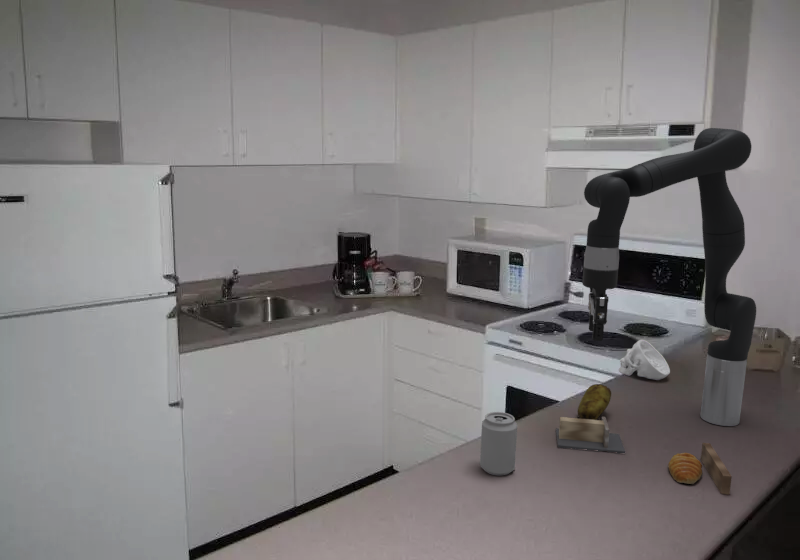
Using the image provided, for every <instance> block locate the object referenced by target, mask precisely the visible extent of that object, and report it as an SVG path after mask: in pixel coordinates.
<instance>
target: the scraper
mask: <svg viewBox="0 0 800 560" xmlns="http://www.w3.org/2000/svg"><path fill="white" fill-rule="evenodd" d="M558 428H559V439H569V440H580V441H591V442H602V443H603V445H604V448H608V441H609V433H610V428H609V424H608V421H607V418H606V416H601V420H600V419H599V420H598V419H597V420H590V419H580V418H579V417H578V418H576V417H566V416H560V417H559V426H558Z"/></svg>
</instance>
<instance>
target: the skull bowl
mask: <svg viewBox="0 0 800 560" xmlns="http://www.w3.org/2000/svg"><path fill="white" fill-rule="evenodd" d="M619 363H620V367H619V368H618V373H620V374H622V375H626V376H632V375H633V373H634V372H635V373H637V377H643V378H646V379H649V380H656V381H660V380H662V379H665V378H666V377H667V376H668V375H670V373H671V369H670V366H669V364H668V362H667V361H666V359H665V357H664V356H663V355H662V353H660V352H659V351H658V350H657V349H656V348H655V347H654V346H653V345H652V344H651V343H650V342H649V341H647V340H645V339H639V340H637V341H636V342H635V343H634V344H633V345H632V348H628V349H626V354H625V355H624V357H622V358H620V360H619Z"/></svg>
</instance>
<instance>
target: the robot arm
mask: <svg viewBox="0 0 800 560" xmlns="http://www.w3.org/2000/svg"><path fill="white" fill-rule="evenodd" d="M693 144H694V145H693V150H690V151H686V152H680V153H674V154H667V155H664V156H658V157H655V158H652V159H650V160H646V161H643V162H641V163H638V164H636V165H633V166H631V167H627V168H625V169H620V170H616V171H610V172H607V173H603V174H600V175H597V176H595V177H593V178H592V179H590V180H589V181H588V182H587V184H586V185H585V187H584V192H583V195H584V199H585V201H586V203H588V204H589V206H591V207H593V208H596V209H599V210H598V214H597V217H596V218H595V219H593V220H590V221H589V222H588V225H587V232H586V233H587V235H586V246H585V247H586V248H585V252H584V258H583V268H582V269H583V271H582V286H583V287H585V288H589V292H588V304H587V307H588V308H587V309H588V314H589V319H588V320H589V321H588V331H590V332H592V340H593V341H595V342H602V341H603V340H604V332H605V331H604V329H605V325H607V322H608V320H607V319H608V316H607V315H608V303H609V296H608V294H607V293H606V291H607V290H614V289H616V288H617V286H618V278H619V276H618V275H619V265H620V264H619V262H620V237H621V236H620V235H621V227H622V226H623V223H624V221H625V217H626V214H627V211H628V207H629V205H630V199H631V198H639V197H643V196H646V195H650V194H651V193H654V192H656V191H659V190H660V191H661V190H662V189H664V188H668V187H669V186H670V187H671V186H673V185H676V184H679V183H681V182H682V183H683V182H685V181H687V180H692V179H695V178H697V183H698V184H697V185H698V191H699V198H700V209H701V222H702V223H701V226H702V227H701V228H702V242H703V243H702V244H703V252H704V266H705V267H704V268H705V269H704V270H705V271H704V272H705V276H704V277H705V278H704V279H705V280H704V281H705V282H704V283H705V284H704V286H705V287H704V308H703V309H704V317H705V320H706V322H707V324H708V325H709V326H711V327H713V328H717V329H721V330H726V331H729V336H728V338H727V339H720V340H718V339H717V340H714V341H710V343H709V344H708V345H707V354H706V355H707V356H706V361H705V362H706V364H705V373H704V380H703V381H704V382H703V388H702V389H703V391H702V398H701V407H700V414H699V415H700V418H701V419H702V420H703V421H705V422H706V423H710V424H713V425H717V426H721V427H722V426H724V427H734V426H738V425H739V424H740V419H741V411H742V403H743V395H744V390H745V389H744V388H745V379H746V372H747V361H748V355H749V351H750V348H751V345H752V340H753V333H754V329H755V324H756V318H757V303H756V301H755V299H753V298H752V297H749V296H745V295H740V294H734V293H729V292H728V291H727V277H728V274H729V273H730V270H731V269H732V268H733V266H735V263H737V260H738V259H739V258H740V256H741V255H742V253H743V251H744V250H745V246H746V245H745V244H746V235H745V234H746V233H745V232H746V231H745V221H744V219H745V218H744V215H743V213H742V212H741V209H740V207H739V205H738V203H737V201H736V200H735V198H734V196H733V195H732V193H731V190H730V188H729V186H728V182H727V176H726V175H727V174H726V172H727V171H732V170H736V169H738V168H741V167H742V166H743V165H744V164H745V163H746V162H747V161H748V160H749V157H750V156H751V153H752V142H751V138H750V137H749V135H747V134H746V133H745V132H743V131H741V130H737V129H732V128H731V129H730V128H721V127H720V128H718V127H707V128H705V129H703V130H702V131H699V133H698V135H697V136H696V138H695V141H694V143H693ZM600 316H601V317H600Z"/></svg>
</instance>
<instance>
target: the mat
mask: <svg viewBox="0 0 800 560" xmlns="http://www.w3.org/2000/svg"><path fill="white" fill-rule="evenodd" d="M555 435H556V436H555V437H556V443H557V444H558V445H557V448H558V447H560V448H559V449H567V448H572V449H571V450H578V449H587V450H586V451H588V450H598V451H597V452H599V451H608V452H607V453H609V452H617V453H616V454H620V453H625V454H626V450H625V446H624V444H623V441H622V438H621V435H620V433H613V432H609V441H608V448H604V445H603V443H602V442H591V441H580V440H569V439H559V427H558V428H557V427H556V428H555Z"/></svg>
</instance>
